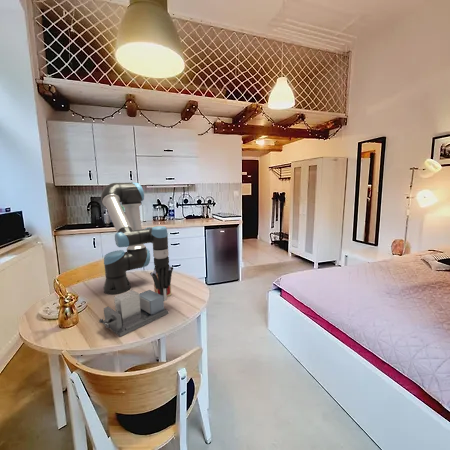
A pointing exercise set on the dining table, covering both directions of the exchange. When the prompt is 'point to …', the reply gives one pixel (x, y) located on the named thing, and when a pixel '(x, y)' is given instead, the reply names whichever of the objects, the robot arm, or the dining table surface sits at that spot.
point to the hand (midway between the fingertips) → (164, 300)
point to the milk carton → (163, 287)
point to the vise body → (116, 325)
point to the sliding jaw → (151, 302)
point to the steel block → (128, 306)
